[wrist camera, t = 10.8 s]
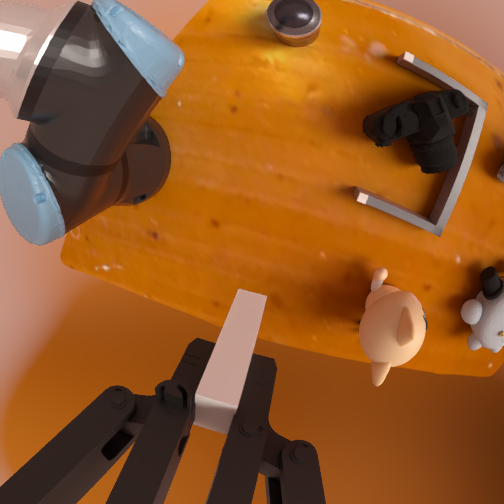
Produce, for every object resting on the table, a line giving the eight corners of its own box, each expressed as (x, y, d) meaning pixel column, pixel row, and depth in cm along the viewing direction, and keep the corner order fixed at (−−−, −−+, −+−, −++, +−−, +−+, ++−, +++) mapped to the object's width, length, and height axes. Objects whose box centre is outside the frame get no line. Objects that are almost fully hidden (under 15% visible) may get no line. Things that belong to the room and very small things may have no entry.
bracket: (353, 194, 36) (356, 201, 33) (398, 56, 26) (405, 51, 23) (432, 228, 35) (440, 238, 32) (477, 104, 25) (489, 104, 22)
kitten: (388, 336, 45) (401, 401, 32) (339, 326, 46) (342, 395, 33) (424, 268, 38) (459, 329, 25) (372, 253, 39) (394, 316, 26)
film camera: (382, 181, 34) (401, 198, 27) (354, 116, 31) (368, 114, 24) (466, 148, 29) (499, 158, 21) (443, 85, 26) (474, 80, 18)
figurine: (526, 307, 36) (508, 234, 33) (543, 328, 28) (532, 252, 26) (468, 351, 43) (441, 288, 41) (480, 377, 36) (457, 314, 33)
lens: (267, 42, 29) (259, 28, 23) (279, 5, 26) (272, -13, 20) (314, 53, 29) (315, 40, 23) (325, 16, 25) (327, -2, 20)
